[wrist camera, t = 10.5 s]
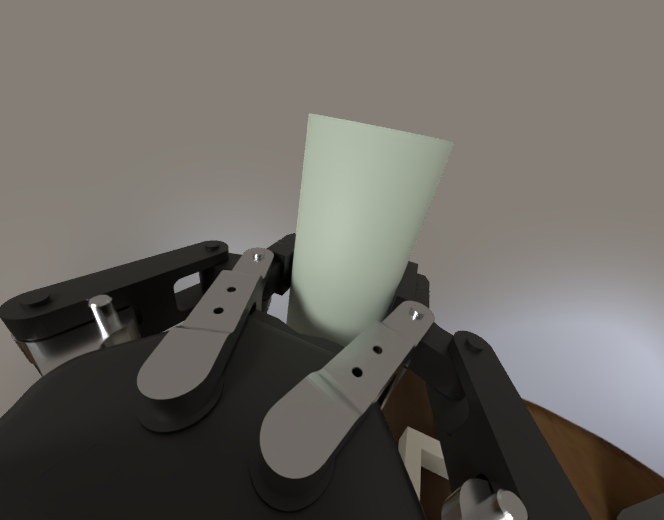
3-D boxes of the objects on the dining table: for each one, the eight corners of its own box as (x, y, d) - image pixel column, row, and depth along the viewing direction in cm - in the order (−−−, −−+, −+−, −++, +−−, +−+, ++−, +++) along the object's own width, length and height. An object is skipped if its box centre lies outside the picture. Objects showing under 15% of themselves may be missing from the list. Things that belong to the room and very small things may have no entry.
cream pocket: (494, 485, 25) (510, 474, 23) (527, 664, 16) (555, 664, 15) (399, 439, 27) (407, 426, 25) (384, 575, 19) (396, 567, 17)
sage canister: (360, 377, 18) (448, 142, 10) (338, 450, 14) (463, 142, 6) (300, 350, 19) (336, 120, 11) (263, 410, 15) (279, 107, 7)
